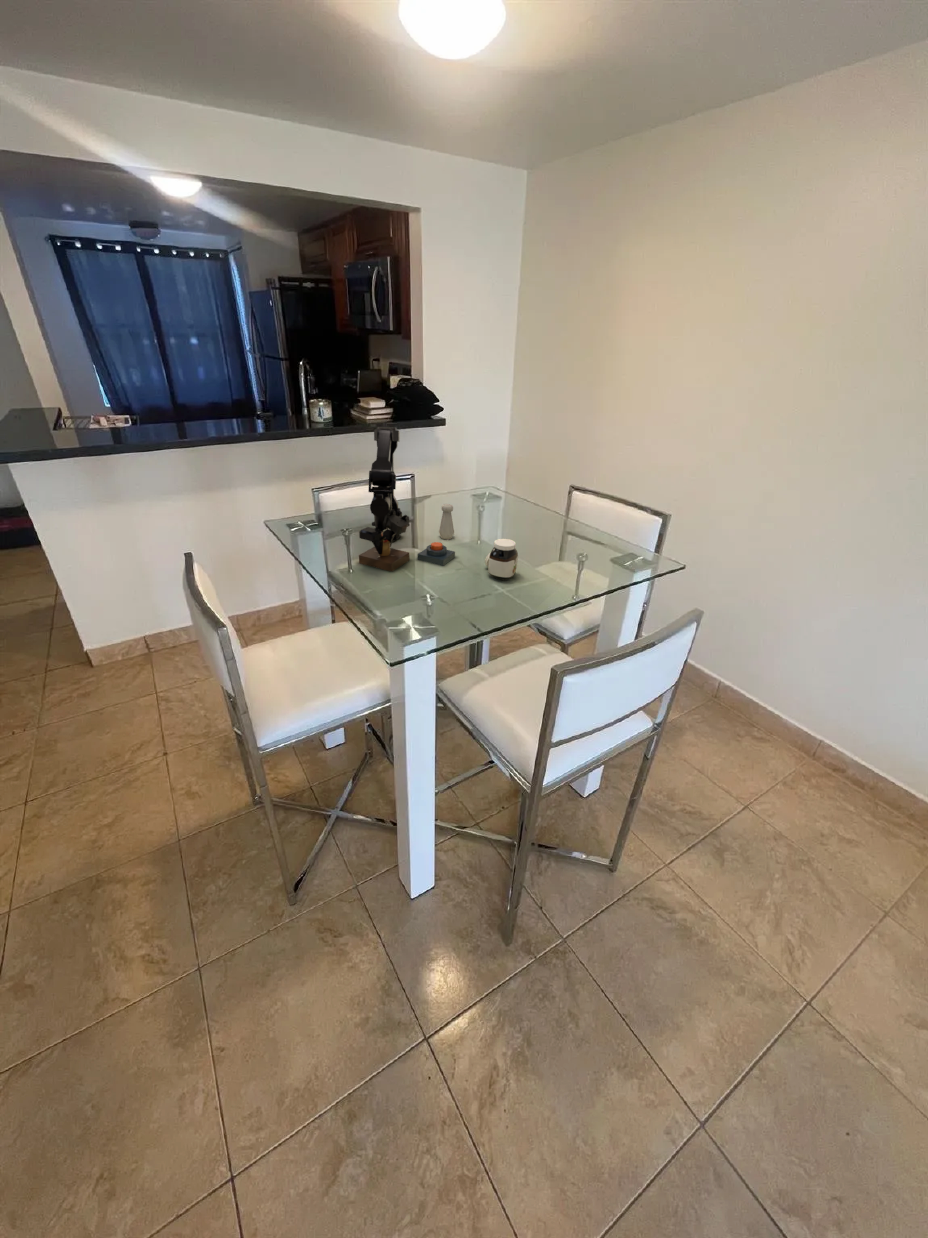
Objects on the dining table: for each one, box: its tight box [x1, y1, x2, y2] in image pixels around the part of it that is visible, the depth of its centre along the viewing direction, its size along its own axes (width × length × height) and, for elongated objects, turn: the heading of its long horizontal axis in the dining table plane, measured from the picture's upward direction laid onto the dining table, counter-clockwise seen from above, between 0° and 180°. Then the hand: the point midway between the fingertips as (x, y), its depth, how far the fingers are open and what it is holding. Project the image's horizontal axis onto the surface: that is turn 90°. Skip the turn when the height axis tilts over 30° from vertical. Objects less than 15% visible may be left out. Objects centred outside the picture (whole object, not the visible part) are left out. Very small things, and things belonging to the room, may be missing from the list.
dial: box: [379, 540, 391, 556], centre depth 171 cm, size 4×4×4 cm
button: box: [430, 541, 444, 550], centre depth 176 cm, size 4×4×2 cm
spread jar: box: [484, 538, 519, 581], centre depth 167 cm, size 12×11×12 cm
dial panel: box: [358, 546, 410, 572], centre depth 172 cm, size 13×11×3 cm
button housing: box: [417, 544, 456, 567], centre depth 177 cm, size 10×9×4 cm
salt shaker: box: [438, 503, 455, 541], centre depth 193 cm, size 6×6×13 cm
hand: (384, 552), depth 171 cm, fingers closed on dial, 4 cm apart
